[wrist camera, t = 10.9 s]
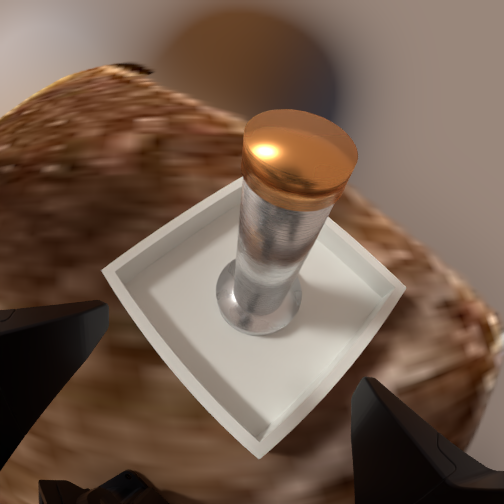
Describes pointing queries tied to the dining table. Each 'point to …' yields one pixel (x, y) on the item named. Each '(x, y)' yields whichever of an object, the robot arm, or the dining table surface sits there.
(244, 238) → the pin
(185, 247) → the pin tray
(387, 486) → the robot arm
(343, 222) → the dining table surface
